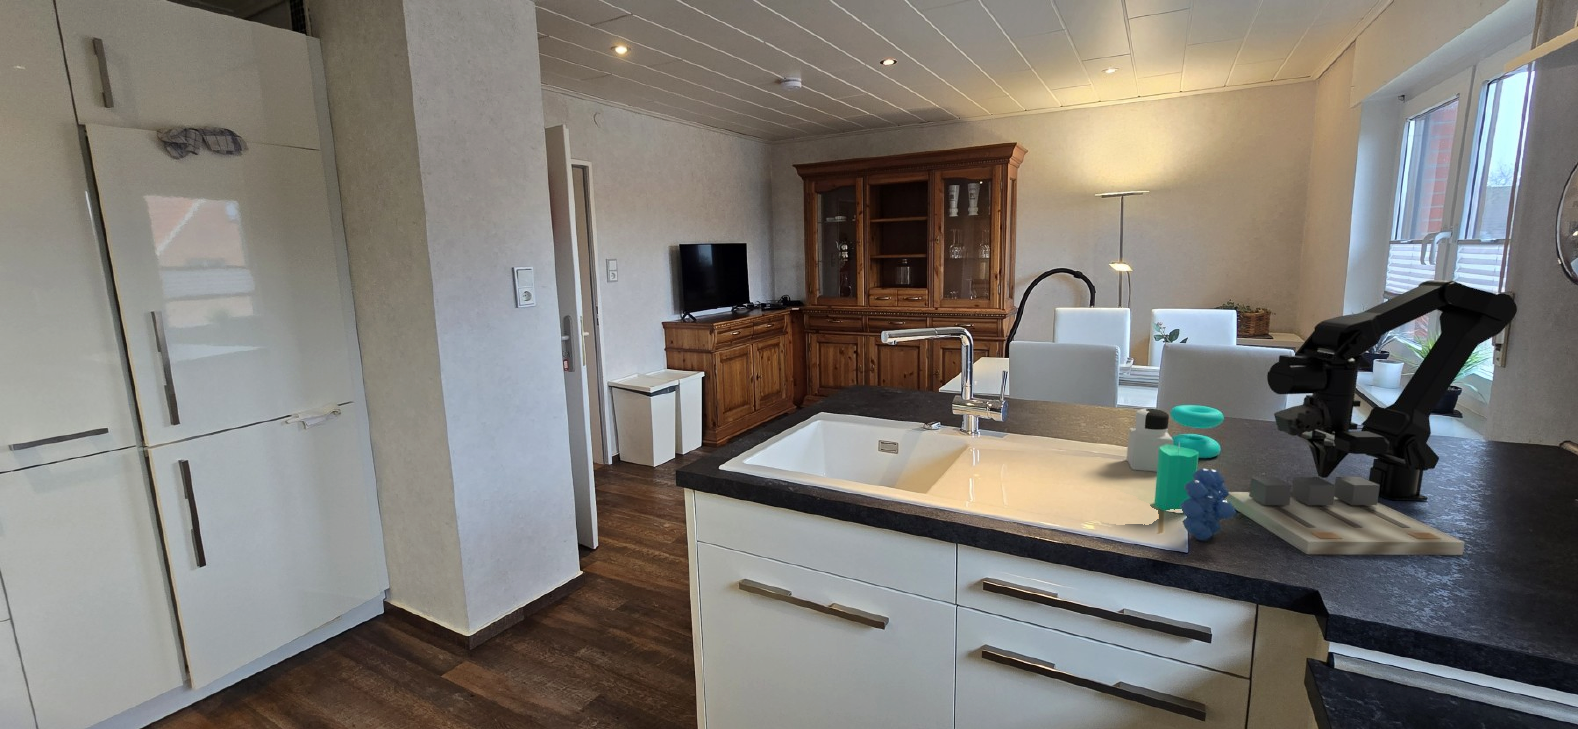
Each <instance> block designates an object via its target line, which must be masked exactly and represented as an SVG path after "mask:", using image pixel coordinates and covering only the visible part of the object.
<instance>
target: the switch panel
mask: <svg viewBox="0 0 1578 729" xmlns="http://www.w3.org/2000/svg"><path fill="white" fill-rule="evenodd" d="M1228 493H1229V495H1228V496H1227V497H1226V498H1225V500H1227V501H1229V502H1230V503H1231V504H1232V506H1233V507H1234V509H1235V511H1238V512H1239V513H1241V514H1242V515H1244V516H1245V517H1247V518H1249V519H1251V520H1252V521H1254V522H1255V523H1256V524H1258V525H1260V526H1262V527H1263V528H1265V529H1266V530H1267V531H1269V532H1270V533H1272V534H1274V535H1276V536H1277V537H1279V538H1280V539H1282V540H1284V541H1285V542H1287V543H1288V544H1290V545H1291V546H1292V547H1295V548H1296V549H1298V550H1299V551H1301V552H1303V553H1304V554H1306V555H1367V556H1368V555H1369V556H1371V555H1373V556H1374V555H1378V556H1379V555H1386V556H1387V555H1388V556H1389V555H1391V556H1393V555H1395V556H1396V555H1397V556H1398V555H1399V556H1400V555H1401V556H1404V555H1405V556H1408V555H1409V556H1410V555H1411V556H1412V555H1414V556H1417V555H1418V556H1420V555H1422V556H1429V555H1430V556H1463V554H1464V549H1465V545H1466V542H1465V541H1463V540H1461V539H1459V538H1457V537H1455V536H1452V535H1450V534H1448V533H1446V532H1443V531H1441V530H1439V529H1437V528H1434V527H1432V526H1430V525H1428V524H1426V523H1424V522H1421V521H1419V520H1418V519H1415V518H1413V517H1411V516H1409V515H1406V514H1404V513H1402V512H1400V511H1398V510H1395V509H1393V508H1391V507H1389V506H1388V505H1384V504H1382V503H1380V502H1377V505H1350V504H1348V503H1346V502H1344V501H1342V500H1340V499H1338V498H1336V497H1334V501H1333V505H1307V504H1305V503H1303V502H1301V501H1299V500H1297V499H1295V498H1293V497H1292V496H1291V495H1290V503H1289V505H1263V504H1262V503H1260V502H1258V501H1256V500H1255V499H1253V498H1251V497H1250V496H1249V493H1250V491H1228ZM1291 493H1292V491H1291Z"/></svg>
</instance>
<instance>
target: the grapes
mask: <svg viewBox="0 0 1578 729" xmlns="http://www.w3.org/2000/svg"><path fill="white" fill-rule="evenodd" d="M1193 478H1194V480H1192V481H1190V482H1188V483H1187V484H1186V485H1185V486H1184V488H1185V490H1186V492H1187V494H1188V495H1189V497H1190V498H1189V499H1188V500H1185V501H1184V502H1183V503H1182V504H1181V505H1180V506H1181V509H1182V511H1183V513H1184V514H1183V515H1184V516H1186V518H1184V519H1183V520H1182V525H1184V526H1183V527H1184V529H1185V530H1186V531H1187V532H1188V533H1190V534H1191V535H1193V536H1194V539H1197V540H1198V541H1207V540H1208V539H1210V538H1211V537H1213V536H1214V534H1217V533H1218V532H1219V531H1220V530H1222V528H1223V527H1222V526H1221V523H1220V520H1228V519H1230V518H1232V517H1233V516H1234V515H1236V514H1237V512H1236V511H1237V510H1236V509H1235V508H1234V507H1233V506H1232V504H1231V503H1230V502H1229V501H1227V500H1226V497H1227V496H1228V495H1229V493H1228V492H1229V491H1228V488H1227V487H1226V486H1225V485H1224V484H1225V480H1224V477H1223V476H1222V474H1221V473H1220V472H1219V471H1218V470H1216V469H1208V468H1200V469H1197V471H1196V472H1195V473H1194V474H1193Z"/></svg>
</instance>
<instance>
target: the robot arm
mask: <svg viewBox="0 0 1578 729" xmlns="http://www.w3.org/2000/svg"><path fill="white" fill-rule="evenodd" d="M1434 311H1439V312H1440V315H1439V320H1438V321H1439V326H1440V327H1439V328H1440V335H1439V336H1438V337H1437V339H1436V341H1435V342H1434V343H1433V345H1432V346H1431V348H1430V349H1429V351H1428V352H1427V354H1426V355H1425V357H1424V358H1423V360H1422V362H1421V363H1420V365H1419V366H1418V368H1417V369H1416V370H1415V372H1414V373H1413V375H1412V376H1411V377H1410V379H1409V381H1408V382H1407V384H1406V385H1405V387H1404V388H1403V389H1402V391H1401V393H1400V394H1399V395H1398V397H1397V399H1396V400H1395V402H1394V403H1392V404H1390V405H1388V406H1386V407H1382V406H1378V405H1375V406H1374V407H1373V408H1372V409H1371V410H1370V412H1369V415H1368V416H1367V418H1366V419H1365V420H1363V421H1362V422H1361V424H1360V425H1361V426H1363V427H1361V430H1360V431H1359V430H1358V423H1356V422H1353V421H1352V418H1353V410H1354V408H1355V407H1361V400H1358V399H1355V395H1356V389H1357V382H1358V373H1359V369H1364V368H1365V369H1366V368H1368V369H1369V368H1371V367H1372V363H1370V362H1369V361H1368V360H1367V359H1365V358H1364V356H1363V354H1364V353H1366V352H1368V351H1369V350H1371V349H1372V348H1374V347H1375V346H1377V345H1378V344H1379V342H1380V340H1381V338H1382V336H1384V335H1386V334H1387V333H1389V332H1391V331H1393V330H1395V329H1397V328H1399V327H1402V326H1404V325H1406V324H1408V323H1411V322H1412V321H1415V320H1417V319H1419V318H1421V317H1423V316H1425V315H1427V314H1430V313H1432V312H1434ZM1517 312H1518V306H1517V304H1516V302H1515V300H1514V298H1513V297H1512V296H1511V295H1509V294H1508V293H1506V292H1505V293H1503V292H1491V291H1487V290H1483V289H1478V288H1475V287H1471V286H1467V285H1465V284H1462V283H1460V282H1457V281H1454V280H1439V279H1429V280H1426V281H1422V282H1421V283H1419V284H1418V286H1415V287H1414V288H1411V289H1409V290H1408V291H1407V290H1406V291H1405V292H1403V293H1401V294H1399V295H1397V296H1394V297H1393V298H1390V299H1388V300H1386V301H1384V302H1382V303H1379V304H1377V305H1376V306H1373V307H1370V308H1369V309H1367V310H1364V311H1362V312H1361V311H1360V312H1357V313H1352V314H1346V315H1339V316H1335V317H1332V318H1329V319H1325V320H1322V321H1320V322H1318V324H1316V325H1315V326H1314V330H1313V331H1312V333H1311V334H1310V335H1309V336H1308V337H1307V339H1306V340H1305V341H1304V342H1303V344H1302V345H1301V346H1300V347H1299V348H1298V350H1297V351H1296V352H1295V353H1294V355H1287V354H1280V355H1279V356H1278V361H1277V362H1275V363H1273V364H1272V366H1271V367H1270V369H1269V371H1267V374H1266V375H1267V376H1266V377H1267V378H1266V380H1267V384H1268V386H1269V389H1271V391H1272V392H1273V393H1275V394H1277V395H1301V394H1303V395H1304V394H1306V395H1305V397H1304V398H1303V402H1302V404H1300V405H1294V406H1291V407H1288V408H1285V409H1282V410H1279V411H1276V412H1275V413H1273V416H1274V419H1275V423H1276V427H1277V430H1278V431H1280V432H1284V433H1287V434H1288V435H1289V436H1293V437H1295V436H1297V437H1298V438H1299V439H1301V440H1302V441H1304V443H1306V444H1307V445H1308V447H1309V450H1310V451H1311V455H1312V458H1313V461H1314V465H1315V469H1316V473H1317V477H1319V478H1321V479H1323V478H1324V479H1325V478H1326V479H1327V478H1328V477H1329V476H1330V475H1331V474H1332V473H1333V471H1335V469H1336V468H1337V467H1338V466H1339V464H1340V463H1341V462H1342V461H1343V460H1344V459H1345V458H1346V457H1347V456H1348V455H1349V454H1352V455H1353V454H1354V455H1365V456H1368V457H1369V456H1370V457H1373V462H1372V466H1371V467H1370V469H1369V477H1368V480H1369V481H1371V482H1373V483H1376V484H1378V485H1380V488H1379V495H1378V496H1381V497H1382V498H1385V499H1388V500H1390V501H1428V499H1429V498H1428V496H1425V495H1424V494H1421V489H1422V481H1423V476H1424V471H1428V470H1434V469H1435V468H1436V466H1437V464H1438V462H1439V460H1440V457H1439V456H1438V454H1436V453H1435V451H1434V450H1433V448H1431V446H1430V445H1428V441H1429V438H1430V437H1431V435H1432V430H1431V423H1430V416H1431V414H1432V413H1433V411H1434V410H1435V408H1437V406H1438V404H1439V403H1440V401H1441V400H1442V398H1443V397H1444V395H1445V394H1446V392H1447V391H1448V389H1449V388H1450V386H1451V385H1452V383H1453V382H1454V380H1455V379H1456V378H1457V377H1458V375H1459V373H1460V372H1461V370H1462V369H1463V367H1464V366H1465V365H1466V363H1467V361H1468V360H1469V358H1470V357H1471V355H1472V354H1473V352H1474V351H1475V349H1476V348H1477V347H1478V346H1479V345H1480V344H1482V343H1485V342H1487V341H1488V340H1490V339H1492V338H1493V337H1495V336H1497V335H1499V334H1501V332H1503V330H1504V329H1505V328H1506V327H1507V326H1508V325H1509V324H1510V323H1511V322H1512V321H1513V319H1514V318H1515V316H1516V314H1517ZM1350 430H1351V431H1350Z"/></svg>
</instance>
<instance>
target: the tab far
mask: <svg viewBox="0 0 1578 729" xmlns="http://www.w3.org/2000/svg"><path fill="white" fill-rule="evenodd" d="M1292 485H1293V484H1290V483H1289V482H1286V481H1284V480H1282V479H1280V478H1278V477H1276V476H1251V477H1250V486H1249V492H1250V493H1249V496H1250V497H1251V498H1253V499H1255V500H1256V501H1258V502H1260V503H1262V504H1263V505H1289V503H1290V495H1291V492H1292Z"/></svg>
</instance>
